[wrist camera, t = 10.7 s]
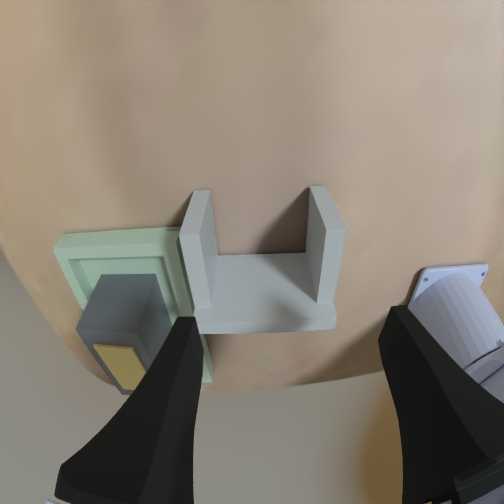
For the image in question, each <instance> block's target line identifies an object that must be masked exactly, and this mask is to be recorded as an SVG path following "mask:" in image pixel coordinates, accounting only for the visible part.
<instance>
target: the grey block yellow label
mask: <svg viewBox="0 0 504 504" xmlns="http://www.w3.org/2000/svg"><path fill="white" fill-rule="evenodd" d="M172 326H173V325H172V322H171V320H170V317H169V314H168V311H167V308H166V305H165V302H164V299H163V296H162V292H161V289H160V286H159V283H158V280H157V276H156V274H101V276H100V278H99V280H98V282H97V284H96V286H95V288H94V290H93V293H92V295H91V297H90V299H89V301H88V303H87V305H86V307H85V309H84V312H83V314H82V316H81V318H80V321H79V323H78V325H77V327H76V330H77V332H78V333H79V335H80V336H81V338H82V339H83V341H84V343H85V344H86V346H87V347H88V348H89V350H90V351H91V353H92V354H93V356H94V357H95V359H96V360H97V362H98V363H99V364H100V366H101V367H102V369H103V370H104V371H105V373H106V374H107V375H108V377H109V378H110V379H111V381H112V382H113V383H114V385H115V386H116V387H117V388H118V390H119V391H120V392H121V394H124V395H131V394H132V393H133V391H134V390H135V388H136V387H137V386H138V384H139V382H140V381H141V379H142V378H143V376H144V375H145V373H146V372H147V370H148V369H149V367H150V366H151V364H152V362H153V361H154V359H155V357H156V355H157V354H158V352H159V350H160V349H161V347H162V345H163V343H164V341H165V340H166V338H167V336H168V334H169V332H170V330H171V328H172Z"/></svg>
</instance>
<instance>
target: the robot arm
mask: <svg viewBox="0 0 504 504" xmlns="http://www.w3.org/2000/svg"><path fill="white" fill-rule="evenodd" d="M488 269H489V266H488V265H487V264H473V265H461V266H447V267H434V268H425V269H423V270H422V272H421V274H420V277H419V279H418V282H417V284H416V287H415V290H414V292H413V295H412V297H411V300H410V302H409V304H408V307H407V306H406V305H401V306H391V309H390V311H389V314H388V316H387V319H386V321H385V324H384V326H383V329H382V331H381V334H380V336H379V339H378V343H379V348H380V354H381V359H382V364H383V367H384V371H385V374H386V377H387V381H388V384H389V387H390V390H391V394H392V397H393V401H394V404H395V408H396V412H397V416H398V420H399V428H400V435H401V444H402V456H403V494H402V504H425V503H428V502H430V501H432V504H504V325H503V324H502V322H501V320H500V318H499V317H498V315H497V313H496V312H495V310H494V308H493V307H492V305H491V303H490V302H489V300H488V299H487V297H486V295H485V294H484V292H483V291H482V289H481V288H480V286H481V284H482V282H483V280H484V277H485V275H486V273H487V271H488ZM424 278H425V279H424ZM203 358H204V348H203V345H202V341H201V337H200V334H199V330H198V326H197V322H196V318H195V316H179V317H177V318H176V320H175V322H174V324H173V326H172V328H171V330H170V332H169V334H168V336H167V338H166V340H165V341H164V343H163V345H162V347H161V349H160V350H159V352H158V354H157V355H156V357H155V359H154V361H153V362H152V364H151V366H150V367H149V369H148V370H147V372H146V373H145V375H144V376H143V378H142V379H141V381H140V382H139V384H138V386H137V387H136V388H135V390H134V391H133V393H132V394H131V395H130V397H129V398H128V399H127V401H126V402H125V403H124V404H123V406H122V407H121V408H120V409H119V411H118V412H117V413H116V414H115V415H114V416H113V417H112V419H111V420H110V421H109V422H108V423H107V424H106V425H105V426H104V427H103V428H102V429H101V430H100V432H98V434H96V435H95V436H94V437H93V438H92V439H91V440H90V441H89V442H88V443H87V444H86V445H85V446H84V447H83V448H81V449H80V450H79V451H78V452H77V453H76V454H74V455H73V456H72V457H70V458H69V459H68V460H67V461H66V462H64V463H63V464H62V465H61V467H60V470H59V473H58V478H57V483H56V489H55V494H54V495H55V497H56V498H58V499H60V500H63V501H65V502H68V503H71V504H194V498H193V443H194V442H193V441H194V427H195V420H196V413H197V408H198V401H199V395H200V389H201V382H202V376H203ZM46 504H59V503H57V502H54V501H52V500H49V499H48V500H46Z"/></svg>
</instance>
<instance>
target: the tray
mask: <svg viewBox="0 0 504 504" xmlns="http://www.w3.org/2000/svg"><path fill="white" fill-rule="evenodd" d="M180 230H181V226H179V227H160V228H144V229H128V230H113V231H99V232H85V233H72V234H63V235H62V236H61V238H60V239H59V240H58V242H57V243H56V244H55V246H54V247H53V248H52V249H53V251H54V253H55V255H56V258H57V260H58V262H59V264H60V266H61V269H62V271H63V273H64V275H65V277H66V279H67V281H68V283H69V285H70V287H71V289H72V291H73V293H74V295H75V297H76V299H77V300H78V302H79V304H80V306H81V308H82V310H83V311H84V309H85V307H86V305H87V303H88V301H89V299H90V297H91V295H92V293H93V290H94V288H95V286H96V284H97V282H98V280H99V278H100V276H101V274H156V276H157V280H158V283H159V286H160V289H161V292H162V296H163V299H164V302H165V305H166V308H167V311H168V314H169V317H170V320H171V322H172V325H173V324H174V322H175V320H176V318H177V317H179V316H193V315H194V309H195V305H194V301H193V297H192V293H191V289H190V284H189V280H188V275H187V271H186V266H185V262H184V257H183V253H182V248H181V243H180V238H179V233H180ZM200 337H201V341H202V345H203V348H204V358H203V376H202V382H201V383H212V380H213V364H212V361H211V357H210V353H209V349H208V345H207V341H206V337H205V334H200Z"/></svg>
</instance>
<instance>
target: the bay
mask: <svg viewBox="0 0 504 504" xmlns="http://www.w3.org/2000/svg"><path fill="white" fill-rule="evenodd" d="M345 234H346V227H345V225H344V223H343V221H342V219H341V217H340V215H339V212H338V210H337V208H336V206H335V204H334V202H333V200H332V198H331V196H330V194H329V192H328V190H327V188H326V186H310V192H309V209H308V224H307V238H306V251H305V253H278V254H250V255H221V256H218V250H217V242H216V234H215V226H214V218H213V210H212V201H211V193H210V190H198V191H194V192H193V195H192V198H191V200H190V203H189V206H188V209H187V212H186V215H185V218H184V221H183V224H182V227H181V230H180V233H179V238H180V243H181V248H182V253H183V257H184V262H185V266H186V271H187V275H188V280H189V284H190V289H191V293H192V297H193V301H194V305H195V309H194V315H193V316H195V318H196V322H197V326H198V330H199V334H244V333H274V332H295V331H311V330H326V329H335V326H336V321H337V314H336V310H335V306H334V297H335V292H336V286H337V281H338V276H339V270H340V264H341V259H342V253H343V247H344V240H345Z"/></svg>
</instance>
